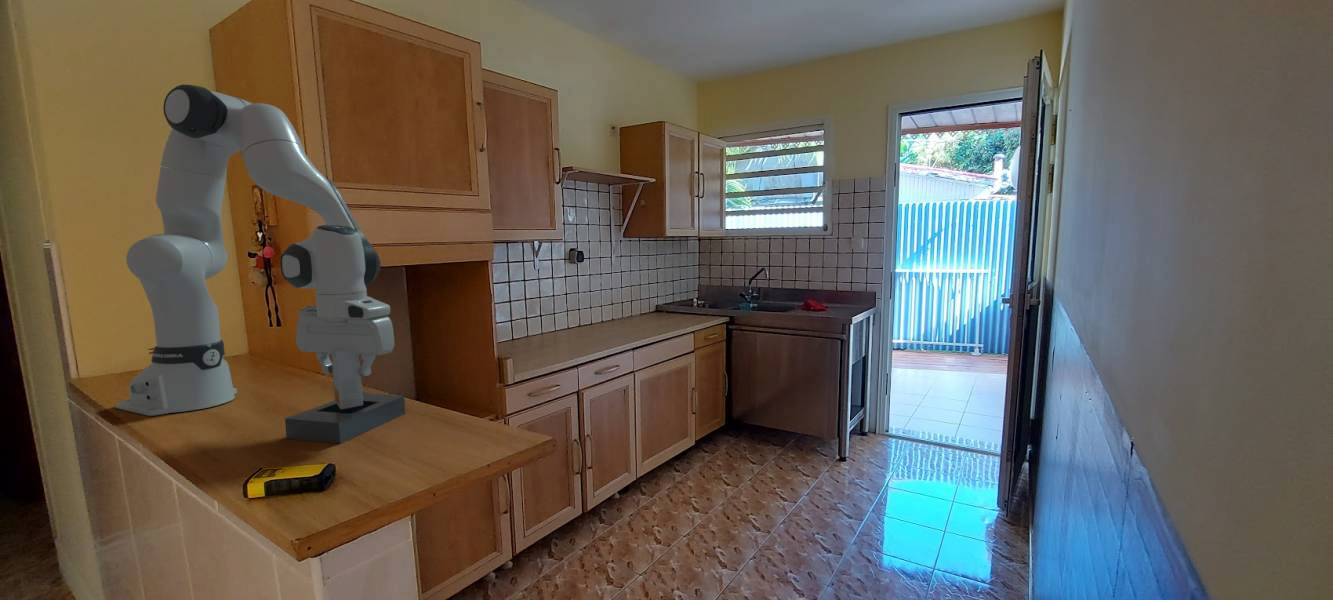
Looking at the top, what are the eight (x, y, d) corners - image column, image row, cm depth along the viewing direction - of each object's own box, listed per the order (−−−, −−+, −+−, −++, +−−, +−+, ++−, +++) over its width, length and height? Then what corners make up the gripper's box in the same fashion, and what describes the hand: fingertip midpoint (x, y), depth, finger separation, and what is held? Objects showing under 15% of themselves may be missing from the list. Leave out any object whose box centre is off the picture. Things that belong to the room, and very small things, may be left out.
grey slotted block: (286, 438, 103) (284, 418, 103) (357, 409, 121) (356, 392, 120) (340, 443, 101) (338, 423, 100) (405, 413, 118) (404, 395, 118)
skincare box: (334, 402, 111) (329, 345, 110) (357, 398, 114) (353, 343, 113) (339, 410, 107) (335, 350, 105) (363, 405, 110) (359, 347, 108)
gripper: (285, 307, 107) (290, 375, 109) (374, 310, 103) (378, 380, 105) (311, 303, 113) (316, 367, 115) (397, 306, 109) (401, 373, 111)
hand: (346, 374), depth 110 cm, fingers closed on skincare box, 7 cm apart
